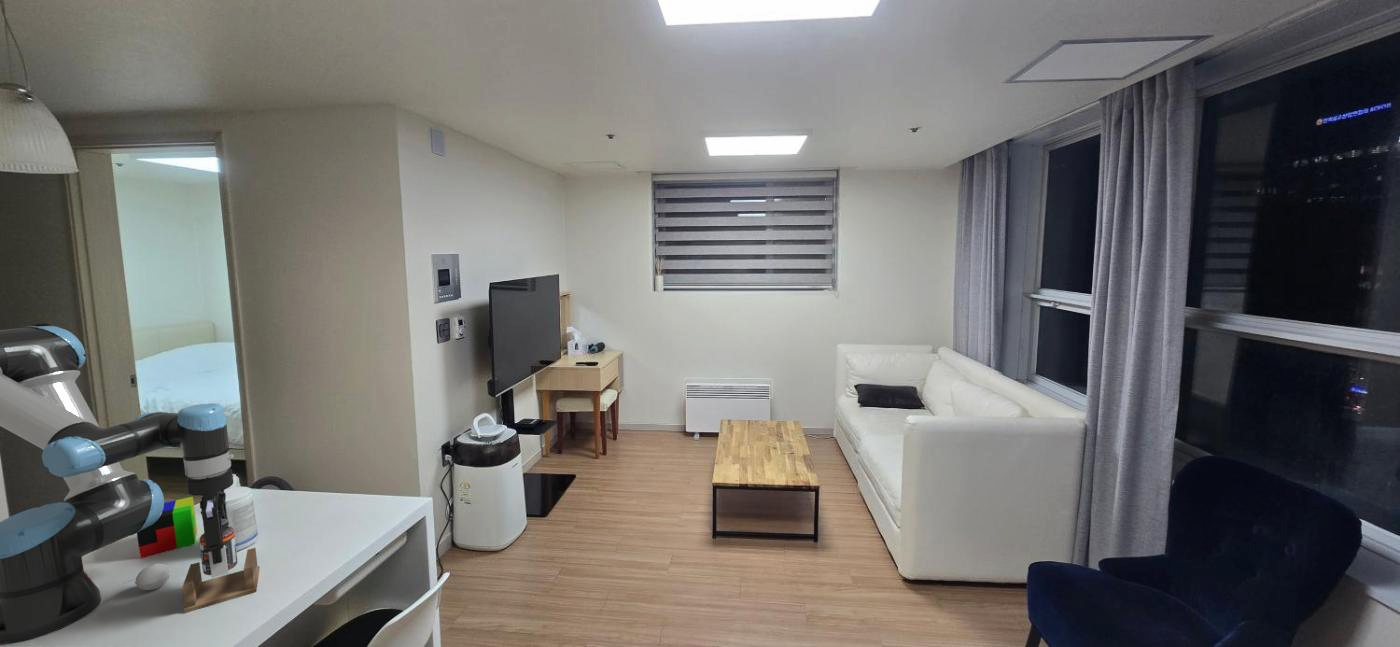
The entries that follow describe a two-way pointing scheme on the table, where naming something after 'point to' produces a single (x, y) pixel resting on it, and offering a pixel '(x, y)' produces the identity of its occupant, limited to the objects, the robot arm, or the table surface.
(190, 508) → the puzzle toy
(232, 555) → the supplement bottle
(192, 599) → the holder cradle
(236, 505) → the supplement tub
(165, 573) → the white oval egg shape
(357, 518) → the table surface
